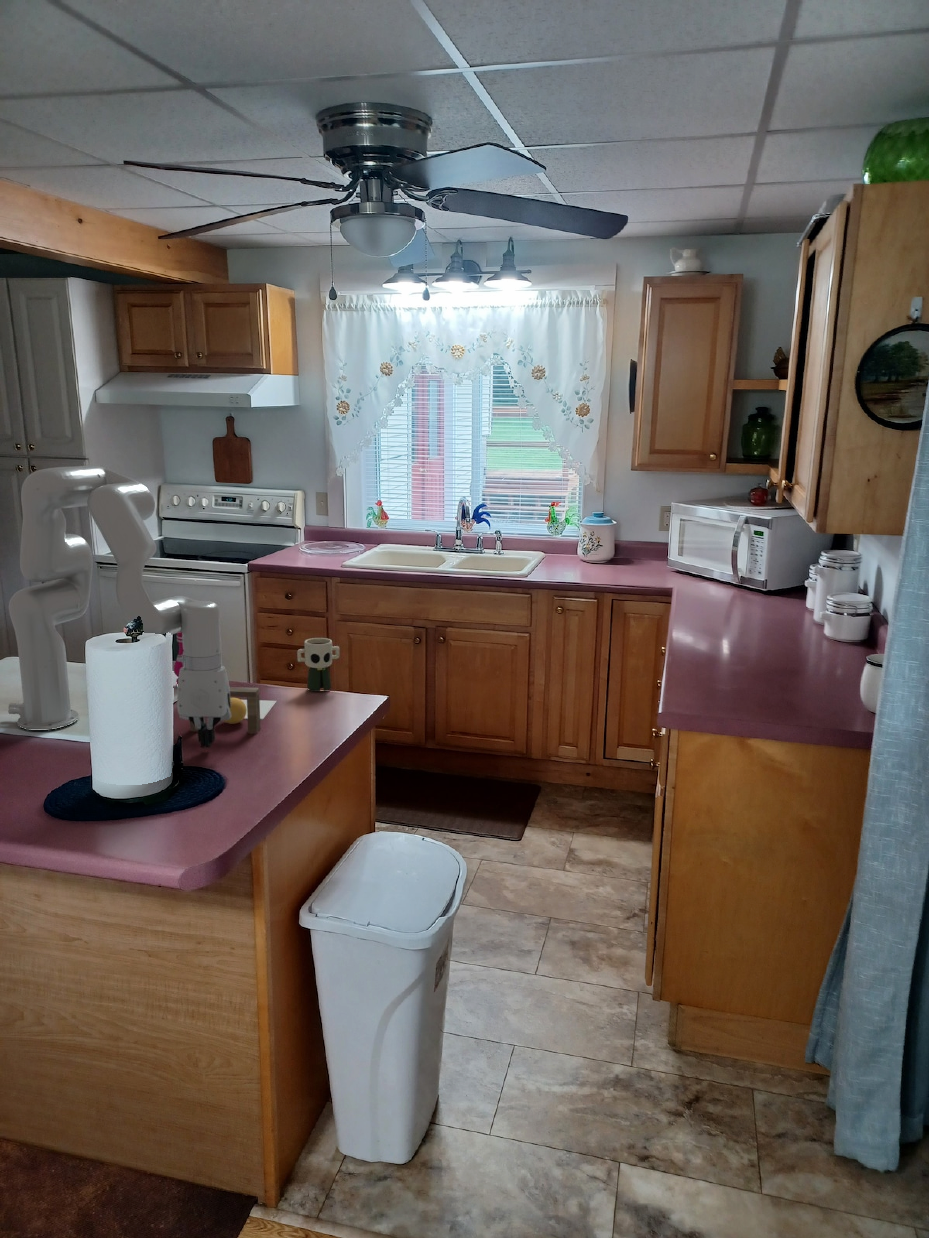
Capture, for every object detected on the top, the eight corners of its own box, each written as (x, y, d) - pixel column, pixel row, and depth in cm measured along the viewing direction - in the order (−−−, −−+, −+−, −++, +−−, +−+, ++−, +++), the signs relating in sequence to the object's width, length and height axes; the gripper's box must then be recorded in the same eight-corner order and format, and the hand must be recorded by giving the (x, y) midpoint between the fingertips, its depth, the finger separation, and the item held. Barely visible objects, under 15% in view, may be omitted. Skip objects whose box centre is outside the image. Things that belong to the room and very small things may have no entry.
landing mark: (207, 717, 206) (207, 716, 206) (224, 699, 219) (224, 699, 219) (263, 719, 206) (263, 718, 206) (276, 701, 218) (276, 700, 218)
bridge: (257, 733, 197) (255, 692, 195) (190, 731, 197) (188, 689, 195) (260, 728, 200) (259, 687, 198) (195, 726, 200) (192, 685, 198)
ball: (215, 724, 199) (218, 698, 199) (221, 719, 205) (224, 694, 205) (242, 727, 200) (245, 701, 199) (247, 722, 206) (250, 697, 205)
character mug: (301, 695, 223) (300, 646, 220) (295, 687, 230) (294, 639, 227) (343, 691, 227) (342, 642, 224) (336, 683, 234) (335, 636, 231)
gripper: (160, 665, 178) (165, 750, 182) (233, 667, 178) (236, 753, 182) (173, 655, 185) (178, 737, 190) (243, 657, 185) (247, 739, 189)
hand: (206, 745), depth 186 cm, fingers closed
